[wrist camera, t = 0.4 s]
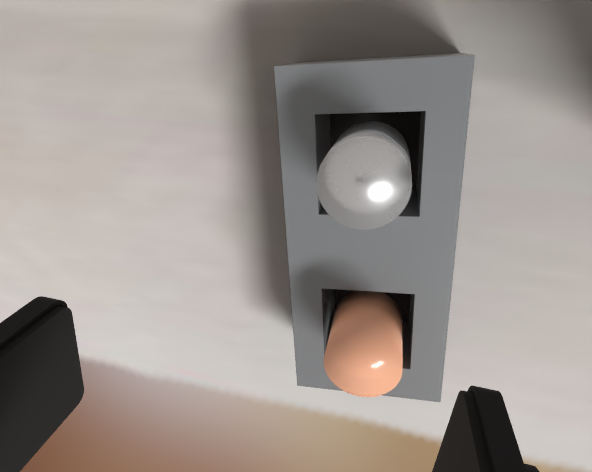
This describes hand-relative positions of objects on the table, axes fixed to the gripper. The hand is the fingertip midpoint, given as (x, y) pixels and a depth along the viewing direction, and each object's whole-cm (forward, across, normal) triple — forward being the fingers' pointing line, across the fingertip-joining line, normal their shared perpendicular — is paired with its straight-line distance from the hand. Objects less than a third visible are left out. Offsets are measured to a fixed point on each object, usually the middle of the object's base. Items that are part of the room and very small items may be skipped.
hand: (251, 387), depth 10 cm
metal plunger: (+20, -2, -1) cm, 20 cm away
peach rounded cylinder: (+20, -4, +11) cm, 23 cm away
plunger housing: (+24, -3, +5) cm, 25 cm away
